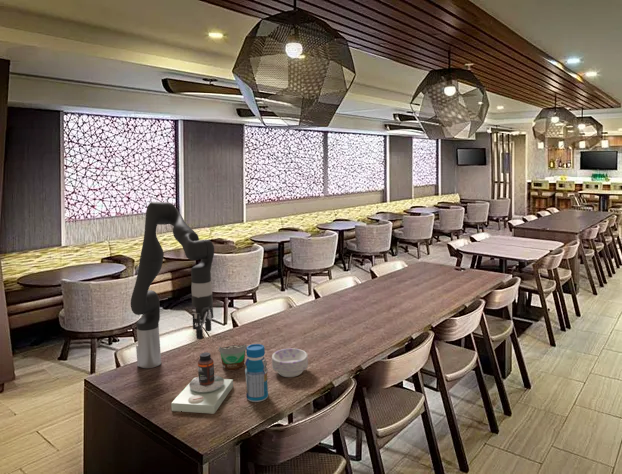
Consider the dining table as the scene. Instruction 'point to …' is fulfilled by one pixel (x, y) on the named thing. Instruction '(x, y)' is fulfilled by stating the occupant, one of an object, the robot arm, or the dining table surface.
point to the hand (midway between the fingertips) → (204, 334)
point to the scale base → (201, 399)
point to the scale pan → (201, 388)
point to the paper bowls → (290, 362)
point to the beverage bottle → (256, 373)
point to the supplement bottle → (206, 369)
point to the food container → (233, 357)
